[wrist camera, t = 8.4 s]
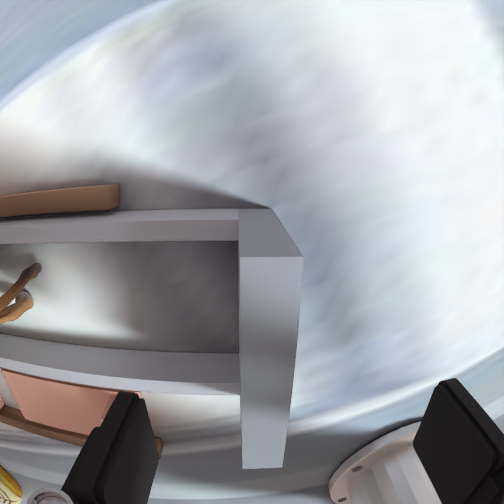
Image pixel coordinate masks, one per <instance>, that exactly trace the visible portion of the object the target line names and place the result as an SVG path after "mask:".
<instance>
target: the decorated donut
mask: <svg viewBox="0 0 504 504" xmlns="http://www.w3.org/2000/svg"><path fill="white" fill-rule="evenodd" d="M21 501H22V489H21V488H20V487H19V485H17V482H16V480H14V479H13V478H12V477H11V476H10V474H9V473H8V472H7V471H5V470H4V469H3V468H2V467H1V466H0V502H2V503H4V504H20V502H21Z"/></svg>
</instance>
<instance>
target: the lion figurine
mask: <svg viewBox="0 0 504 504" xmlns="http://www.w3.org/2000/svg"><path fill="white" fill-rule="evenodd" d="M40 271H41V265H40V263H35V264H33V265H32V266H31V267H29V268H27V269H25V270H24V271H23V272H22V274H21V276H20V277H19V279H18V280H17V281H16V283H15V284H14V285H13V286H12V287H11V288H10V289H9V290H8V291H7V292H6V293H5V294H4V295H2V296H1V297H0V324H1V323H4V322H8V321H14V320H16V319H18V318H19V317H20V316H21V315H22V314H23V313H24V312H26V311H27V310H29V309H31V308H32V307H33V300H32V297H31V296H30V294H28V293H27V292H24V291H22V292H20V291H21V290H22V289H23V287H24V286H25V285H26V283H27V282H28V281H29V280H31V279H33V278H35V277H37V274H38V273H39V272H40ZM15 297H16V300H15V302H16V303H14V304H12V305H9V306H7V305H8V304H9V303H10V302H11V301H12V300H13V299H14V298H15ZM6 306H7V307H6Z"/></svg>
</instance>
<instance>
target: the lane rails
mask: <svg viewBox="0 0 504 504" xmlns="http://www.w3.org/2000/svg"><path fill="white" fill-rule="evenodd" d="M118 205H120V197H119V183H117V184H103V185H91V186H79V187H68V188H58V189H49V190H40V191H32V192H24V193H16V194H9V195H2V196H0V217H4V216H15V215H27V214H40V213H53V212H68V211H85V210H103V209H112V208H114V207H116V206H118ZM0 368H2V367H0ZM2 369H6V368H2ZM6 370H9V371H13V372H17V373H22V372H18V371H14V370H10V369H6ZM22 374H26V375H30V376H35V377H40V376H36V375H31V374H27V373H22ZM40 378H44V379H49V380H54V381H60V382H65V383H71V384H77V385H83V386H90V387H97V388H104V389H112V390H120V391H130V392H141V391H132V390H123V389H114V388H106V387H98V386H91V385H85V384H78V383H72V382H66V381H61V380H55V379H50V378H45V377H40ZM0 422H3V423H5V424H8V425H11V426H14V427H16V428H19V429H22V430H25V431H28V432H32V433H35V434H38V435H41V436H45V437H48V438H52V439H55V440H59V441H63V442H67V443H71V444H75V445H79V446H84V444H85V442H86V440H87V438H88V436H89V435H85V434H81V433H76V432H72V431H67V430H63V429H59V428H55V427H51V426H47V425H44V424H40V423H37V422H33V421H30V420H27V419H25V418H24V416H23V414H22V412H21V411H19V410H16V409H13V408H10V407H7V406H4V405H3V406H2V408H1V409H0ZM154 439H155V443H156V446H157V450H158V454H159V459H160V457H161V452H162V447H163V446H162V442H161V439H160V438H156V437H154Z"/></svg>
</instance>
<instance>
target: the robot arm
mask: <svg viewBox="0 0 504 504" xmlns="http://www.w3.org/2000/svg"><path fill="white" fill-rule="evenodd" d="M158 460H159V454H158V450H157V446H156V443H155V439H154V436H153V432H152V428H151V424H150V420H149V416H148V412H147V408H146V404H145V401H144V399H142V398H139V395H138V394H137V393H130V392H123V391H120V392H118V394H117V395H116V397H115V399H114V401H113V403H112V405H111V407H110V408H109V410H108V412H107V414H106V416H105V418H104V420H103V422H102V424H101V426H100V427H95V428H93V430H92V431H91V433H90V434H89V436H88V438H87V440H86V442H85V444H84V446H83V448H82V450H81V451H80V453H79V455H78V457H77V459H76V461H75V463H74V465H73V467H72V469H71V471H70V473H69V475H68V477H67V479H66V481H65V483H64V485H63V487H62V489H61V490H59V489H56V488H50V487H49V488H42V489H39V490H36V491H35V492H34V493H32V494H31V495H30V497H29V498H28V500H27V504H147V502H148V498H149V494H150V490H151V487H152V483H153V479H154V476H155V472H156V468H157V465H158ZM328 488H329V492H330V497H331V499H332V500H333V502H335V503H336V504H504V434H503V433H502V432H501V430H500V429H499V428H498V427H497V425H496V424H495V423H494V422H493V420H492V419H491V418H490V417H489V416H488V414H487V413H486V412H485V411H484V410H483V408H482V407H481V406H480V405H479V404H478V403H477V401H476V400H475V399H474V398H473V397H472V396H471V394H470V393H469V392H468V391H467V390H466V389H465V387H464V386H463V385H462V384H461V383H460V382H459V381H458V380H457V379H456V378H453V379H448V380H444V381H440V382H439V384H438V386H436V387H435V389H434V391H433V394H432V396H431V399H430V402H429V404H428V407H427V409H426V412H425V414H424V417H423V419H422V421H420V422H416V423H413V424H410V425H407V426H404V427H402V428H399V429H397V430H395V431H392V432H390V433H388V434H386V435H384V436H382V437H380V438H379V439H377V440H375V441H373V442H371V443H370V444H368V445H367V446H365V447H363V448H362V449H360V450H359V451H358V452H356V453H355V454H354V455H352V456H351V457H350V458H348V459H347V460H346V461H345V462H344V463H343V464H342V465H341V466H340V467H339V468H338V469H337V470H336V472H335V473H334V474H333V476H332V478H331V479H330V481H329V486H328Z"/></svg>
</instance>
